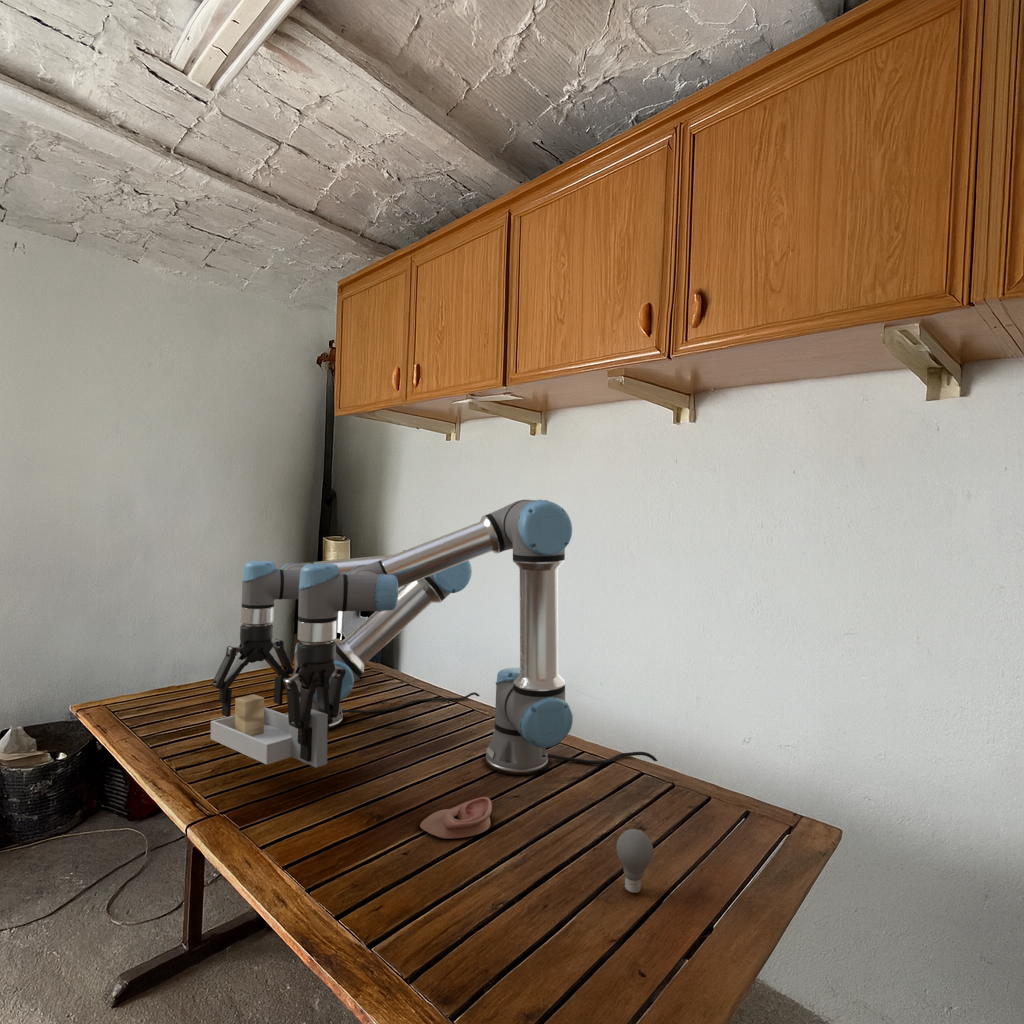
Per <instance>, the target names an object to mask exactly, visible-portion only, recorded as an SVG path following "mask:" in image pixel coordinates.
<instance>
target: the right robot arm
mask: <svg viewBox="0 0 1024 1024" xmlns="http://www.w3.org/2000/svg"><path fill="white" fill-rule="evenodd" d="M572 523H573V522H572V519H571V518H570V515H569V514H568V512H567V511H566V510H565V508H564V507H562V506H561V505H559V504H558V503H556V502H553V501H550V500H548V499H521V500H517V501H514V502H512V503H509V504H507V505H505V506H504V507H501V508H499V509H497V510H494V511H492V512H490V513H488V514H487V513H486V514H484V515H482V516H481V518H480V520H479V522H476V523H474V524H471V525H468V526H465V527H463V528H460V529H458V530H454V531H452V532H449V533H447V534H444V535H442V536H439V537H436V538H434V539H431V540H429V541H426V542H423V543H421V544H417V545H416V546H413V547H410V548H408V549H404V550H405V551H403V550H402V551H399V552H397V553H395V554H391V555H392V556H389V557H387V558H384V559H381V560H379V561H377V562H374V563H371V564H368V565H360V566H357V567H355V568H353V569H352V570H351V571H350V572H349V574H348V575H347V574H340V572H339V568H338V566H337V565H334V564H323V563H316V564H307V565H304V566H303V567H302V568H301V570H300V581H299V599H298V605H297V606H298V609H297V611H298V613H297V640H298V642H297V643H298V644H297V643H296V644H297V663H298V666H297V669H296V671H295V670H294V672H295V674H294V673H293V674H292V675H291V676H289V677H288V678H285V679H284V680H283V683H284V686H285V690H286V702H287V703H286V704H287V713H288V720H289V725H291V726H293V727H295V728H297V729H298V744H301V747H300V758H301V759H303V760H305V761H307V762H309V761H311V750H312V728H310V727H309V722H310V715H311V708H312V701H313V695H314V694H315V691H316V690H317V703H318V711H319V712H322V713H325V714H328V723H327V738H328V737H329V734H330V729H329V724H331V723H332V722H333V720H332V718H336V717H337V716H338V711H339V703H340V704H341V701H340V696H341V688H342V681H343V678H344V676H345V673H346V670H345V669H342V668H339V667H336V666H335V663H334V659H335V657H336V643H335V641H333V640H335V639H338V638H337V634H338V633H337V631H338V612H375V611H378V612H381V611H387V610H394V609H395V608H396V606H397V602H398V591H399V589H401V588H403V587H404V586H405V585H407V584H410V583H412V582H415V581H417V580H420V579H422V578H425V577H428V576H430V575H433V574H435V573H438V572H440V571H443V570H445V569H448V568H450V567H453V566H455V565H458V564H461V563H463V562H466V561H468V560H469V561H471V560H473V559H476V558H478V557H481V556H483V555H486V554H488V553H490V552H492V553H494V554H497V555H498V554H500V553H502V552H505V551H510V550H512V563H514V564H515V565H516V567H518V569H519V667H508V668H502V669H501V670H499V671H498V672H497V675H496V682H495V685H496V687H495V709H494V710H495V711H494V730H493V732H492V736H491V738H490V741H489V744H488V746H487V749H486V751H485V764H486V765H487V767H489V768H490V769H491V770H494V771H495V772H498V773H501V774H506V775H511V776H529V775H534V774H537V773H541V772H542V771H544V770H546V769H547V767H548V766H549V765H548V764H549V759H554V760H560V761H567V762H574V763H579V764H586V765H606V764H609V763H612V762H615V760H617V759H620V758H623V757H634V756H644V757H647V758H650V759H651V760H652V761H653V762H658V761H659V760H658V759H657V757H655V756H654V755H653V754H651V753H649V752H646V751H631V752H622V753H617V754H615V755H614V756H612V757H610V758H606V759H601V760H591V759H583V758H577V757H570V756H563V755H557V754H551V753H550V754H549V753H548V751H547V748H552V747H555V746H557V745H559V744H560V743H561V742H562V741H563V740H564V739H566V737H567V736H568V735H569V733H570V731H571V729H572V726H573V720H574V715H573V711H572V709H571V706H570V705H569V704H568V702H567V701H566V680H565V679H564V678H563V677H562V676H561V675H560V674H559V568H560V567H561V566H562V565H563V563H565V561H566V558H565V555H566V548H567V546H568V545H569V544H570V543H571V539H572V537H573V524H572ZM331 675H332V676H331ZM330 677H331V680H330V684H329V679H330ZM298 681H300V682H301V688H300V691H301V698H300V700H299V690H298V686H299V683H298Z"/></svg>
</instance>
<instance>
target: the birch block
mask: <svg viewBox="0 0 1024 1024" xmlns="http://www.w3.org/2000/svg"><path fill="white" fill-rule="evenodd" d="M264 708H265V697H263V696H260V695H257V694H255V693H253V694H249V695H245V696H244V695H243V696H239V697H236V698H234V715H235V730H237V731H240V732H242V733H244V734H247V735H249V736H255V735H259V734H262V733H264Z"/></svg>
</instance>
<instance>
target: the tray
mask: <svg viewBox="0 0 1024 1024" xmlns="http://www.w3.org/2000/svg"><path fill="white" fill-rule="evenodd" d="M327 723H328V714H325V713H322V712H319V711H316V710H313V709H311V715H310V722H309V727H310V728H312V750H311V761H309V762H307V761H305V760H303V759H301V758H300V747H301V744H298V729H297V728H295V727H293V726H291V725H289V720H288V715H287V714H285V713H282V712H279V711H277V710H274V709H271V708H268V707H264V733H262V734H259V735H255V736H249V735H247V734H244V733H242V732H240V731H237V730H235V714H234V715H230V717H226V716H225V717H221V718H218V719H213V720H210V740H212V741H213V742H217V743H219V744H221V745H223V746H225V747H226V748H227V747H228V749H229V748H230V749H231V750H233V751H236V752H238V753H240V754H242V755H245V756H246V757H249V758H251V759H253V760H254V761H255V760H256V761H258V762H260V763H262V764H264V765H266V766H267V765H268V766H269V765H270V764H273V763H276V762H280V761H283V760H286V759H289V758H292V759H295V760H297V761H299V762H302V763H303V764H307V765H309V766H311V767H314V768H316V769H318V768H320V767H323V766H326V765H328V737H327Z"/></svg>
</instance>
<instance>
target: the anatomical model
mask: <svg viewBox="0 0 1024 1024" xmlns="http://www.w3.org/2000/svg"><path fill="white" fill-rule="evenodd" d="M492 804H493V803H492V800H491V799H490V798H489V797H487V796H482V797H478V798H474V799H471V800H467V801H465V802H463V803H460V804H459V805H458V804H457V805H456V806H454V807H451V808H446V809H441V810H437V811H435V812H433V813H431V814H430V815H428V816H427V817H426V818H424V819H423V820H422V821H421V822H420V824H419V827H420V829H421V830H423V831H424V832H425V833H428V834H430V835H432V836H434V837H437V838H441V839H446V840H448V839H451V840H453V839H461V838H462V839H463V838H468V837H469V838H470V837H473V836H477V835H480V834H482V833H484V832H486V831H488V829H490V827H491V817H490V816H491V814H492V811H493V805H492Z"/></svg>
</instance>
